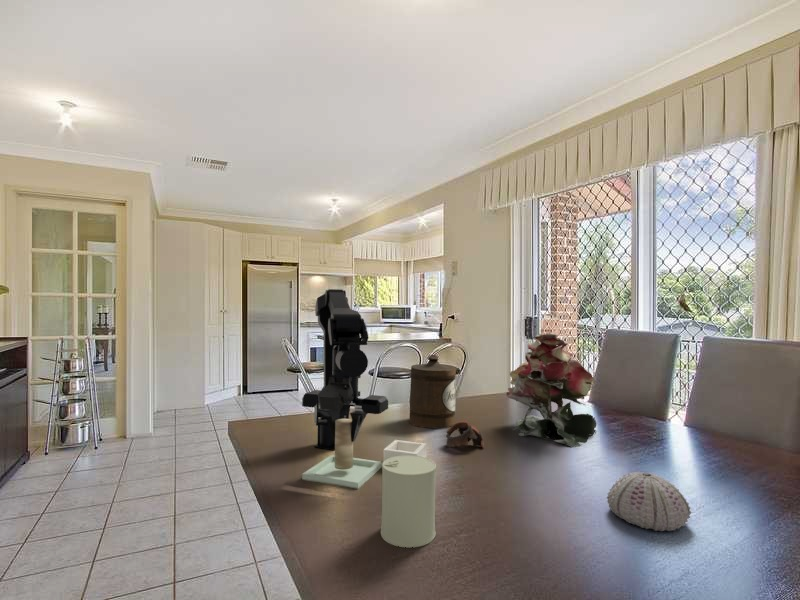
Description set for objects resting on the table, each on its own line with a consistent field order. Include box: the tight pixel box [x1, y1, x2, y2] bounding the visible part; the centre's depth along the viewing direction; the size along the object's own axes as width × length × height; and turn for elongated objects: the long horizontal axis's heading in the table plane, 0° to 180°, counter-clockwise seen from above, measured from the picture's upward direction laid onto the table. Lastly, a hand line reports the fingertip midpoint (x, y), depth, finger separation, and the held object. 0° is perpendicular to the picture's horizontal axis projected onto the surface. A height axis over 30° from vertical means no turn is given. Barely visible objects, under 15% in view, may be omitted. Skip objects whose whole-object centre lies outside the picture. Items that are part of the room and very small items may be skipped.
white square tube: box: [382, 439, 428, 463], centre depth 105 cm, size 8×8×5 cm
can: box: [380, 455, 437, 549], centre depth 75 cm, size 9×9×12 cm
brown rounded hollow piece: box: [445, 420, 485, 450], centre depth 120 cm, size 12×10×8 cm
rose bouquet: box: [506, 333, 597, 448], centre depth 139 cm, size 26×29×30 cm
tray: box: [301, 454, 383, 490], centre depth 99 cm, size 13×13×2 cm
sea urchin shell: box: [606, 471, 692, 532], centre depth 82 cm, size 13×14×8 cm
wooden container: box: [409, 354, 457, 429], centre depth 146 cm, size 15×15×22 cm
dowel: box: [334, 418, 354, 470], centre depth 99 cm, size 4×4×10 cm
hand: (344, 440), depth 99 cm, fingers closed on dowel, 4 cm apart
